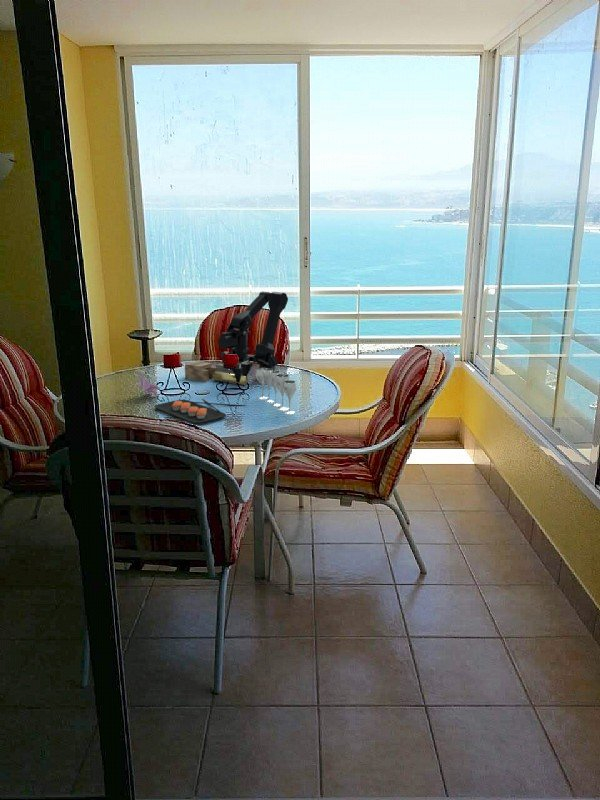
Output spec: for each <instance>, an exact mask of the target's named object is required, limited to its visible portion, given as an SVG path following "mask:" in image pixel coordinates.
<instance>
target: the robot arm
mask: <svg viewBox="0 0 600 800" xmlns="http://www.w3.org/2000/svg"><path fill="white" fill-rule="evenodd" d="M288 302H289V297H288V294H287V293H285V292H280V291H272V292H269V291H260V292H259V294H258V296H257V297H256V298H255V299H254V300H253V301H252V302H251V303H250V304H249V305H248V306H247V307H246V308H245V309H244V310H243V311H241V312H238V313H237V314H235V315H234V316H233V317H232V318H231V321H230V323H229V325H228V327H227V328H226V331H225V332H221V333H220V334H221V335H220V336H219V338H218V341H217V343H218V347H219V348H220V349H221V350H227V349H231V350H230V352H227V351H222V352H221V353H220V358H221V360H224V359H223V355H224V354H237V355H238V357H239V362H238V364H237V365H235V366H236V368H231V370H232V371H233V373H234V375H235V378H236V380H237V382H240V379H241V375H243V376H247V377H248V375H249V374H248V373H249V371H250V369H251V367H252V368H253V366H254V363H256V364H258V365H259V367H258V368H268V369H273V371H276V370H275V369H276V366H278V363H279V360H278V359H277V357H276V356H275V348H274V347H275V346H274V340H275V337H276V336H275V335H276V332H277V328H278V324H279V321H280V317H281V313H282V312H283V311H284V310H285V309H286V307H287V304H288ZM265 305H267V306H268V309H269V311H268V315H267V316H268V317H267V319H266V325H265V328H264V331H263V336H262V339H261V342H260V343H257V344H256V345H255V349H254V351H253V353H254V354H248V352H249V351H250V347H248V335H249V336H250V335H251V334H252V333H251V331H250V330H249V328H250V327H251V325H252V323H253V319H254V318H255V317H256V316H257V314H258V313H259V312H261V310H262V309H263V308H264V307H265ZM252 362H253V363H252ZM222 364H223V368H225V369H229V368H227V367H224V362H223V363H222Z"/></svg>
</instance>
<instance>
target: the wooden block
mask: <svg viewBox="0 0 600 800" xmlns="http://www.w3.org/2000/svg"><path fill="white" fill-rule="evenodd" d="M215 371H216V372H217V367H216V366H213V363H211V362H206V361H205V362H204V361H198V360H194V361H192V362H188V363H184V378H185V379H186V378H187V380H192V381H193V380H194V381H199V382H205V383H208V382H209V381H210V379H213V373H214V372H215Z"/></svg>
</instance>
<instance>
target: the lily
mask: <svg viewBox="0 0 600 800" xmlns="http://www.w3.org/2000/svg"><path fill="white" fill-rule="evenodd" d="M134 375H135V376H136V378H137V379H138V381H139V382H136V383H135V385H137V386H139V387H141V388H142V392H141V394H140V396H139V400H141V399H142V395H143V393H144V392H146V393H147V394H148V395H150V394H154V395H155V396H156V397H158V398H159V394H158V393H157V392H156V391H157V390H160V389H161V387H160V386H158V385H157V384H154V383H152V382H150V381H149V379H148V378H143V377H142V376H141V375H139V374H137V373H134Z"/></svg>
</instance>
